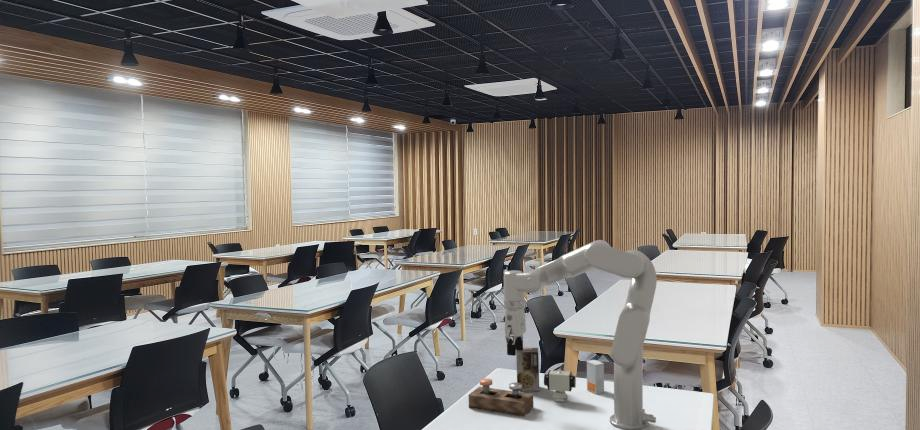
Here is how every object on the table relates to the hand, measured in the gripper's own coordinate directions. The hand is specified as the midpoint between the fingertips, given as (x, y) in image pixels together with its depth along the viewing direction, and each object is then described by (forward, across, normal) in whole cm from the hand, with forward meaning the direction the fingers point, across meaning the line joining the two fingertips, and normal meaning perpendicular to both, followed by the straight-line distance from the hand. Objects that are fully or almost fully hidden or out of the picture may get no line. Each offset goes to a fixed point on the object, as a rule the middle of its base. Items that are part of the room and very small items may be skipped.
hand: (515, 352), depth 222 cm
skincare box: (+22, +31, -22) cm, 44 cm away
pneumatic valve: (+22, +16, -12) cm, 30 cm away
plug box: (+22, 0, +6) cm, 22 cm away
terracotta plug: (+17, 0, +12) cm, 21 cm away
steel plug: (+17, 0, 0) cm, 17 cm away
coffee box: (+22, +24, +4) cm, 33 cm away
